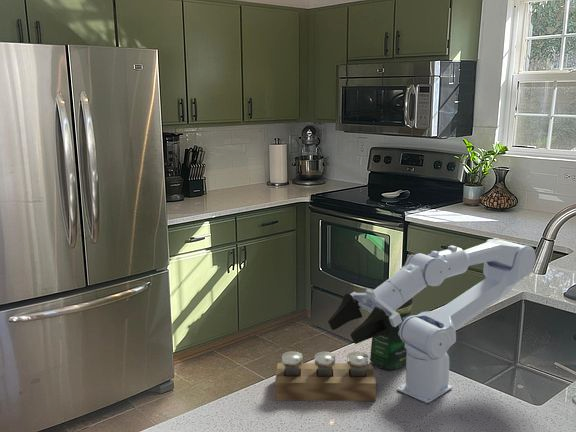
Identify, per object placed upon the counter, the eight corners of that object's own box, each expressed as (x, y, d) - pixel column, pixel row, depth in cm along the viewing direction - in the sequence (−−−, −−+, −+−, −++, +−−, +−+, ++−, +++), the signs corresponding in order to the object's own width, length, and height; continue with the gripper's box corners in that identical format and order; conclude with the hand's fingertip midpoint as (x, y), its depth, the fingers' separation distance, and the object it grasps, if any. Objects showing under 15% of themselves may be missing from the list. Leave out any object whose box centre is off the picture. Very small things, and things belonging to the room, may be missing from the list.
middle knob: (334, 375, 123) (334, 351, 122) (335, 385, 119) (335, 360, 118) (314, 375, 124) (314, 351, 122) (314, 384, 119) (314, 360, 118)
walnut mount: (371, 380, 126) (371, 363, 125) (375, 401, 117) (376, 383, 116) (278, 379, 127) (277, 363, 126) (275, 400, 118) (274, 382, 117)
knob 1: (302, 375, 124) (302, 351, 123) (302, 384, 119) (302, 360, 118) (283, 374, 124) (282, 351, 123) (281, 384, 120) (281, 360, 118)
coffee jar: (391, 374, 128) (393, 297, 125) (364, 363, 134) (365, 289, 130) (416, 361, 134) (419, 287, 131) (390, 351, 140) (392, 280, 137)
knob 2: (366, 375, 123) (366, 351, 122) (368, 385, 119) (368, 360, 118) (346, 375, 123) (346, 351, 122) (347, 385, 119) (347, 360, 118)
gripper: (365, 268, 117) (314, 304, 112) (411, 287, 104) (356, 329, 100) (375, 295, 119) (326, 331, 115) (422, 317, 107) (369, 358, 102)
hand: (341, 332), depth 107 cm, fingers open, 7 cm apart
